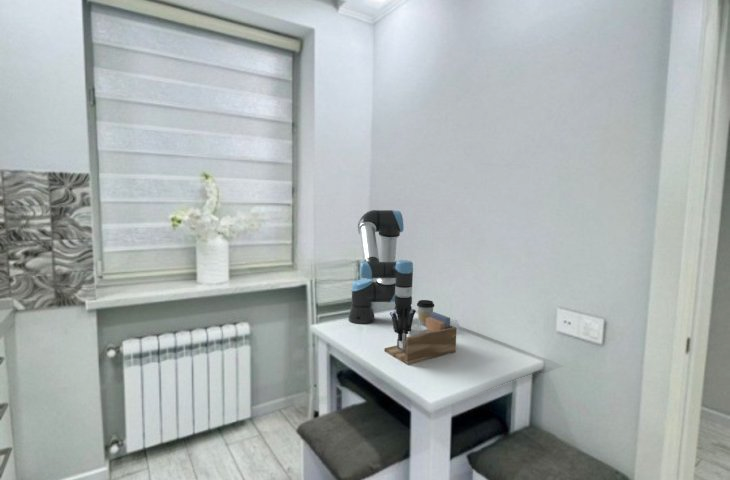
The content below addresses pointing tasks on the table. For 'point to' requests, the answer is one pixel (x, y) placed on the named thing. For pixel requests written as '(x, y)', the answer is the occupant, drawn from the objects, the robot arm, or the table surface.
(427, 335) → the wooden book rack
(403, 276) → the robot arm
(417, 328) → the cup
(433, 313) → the books
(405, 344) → the grey rectangular block
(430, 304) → the coffee cup
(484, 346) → the table surface
